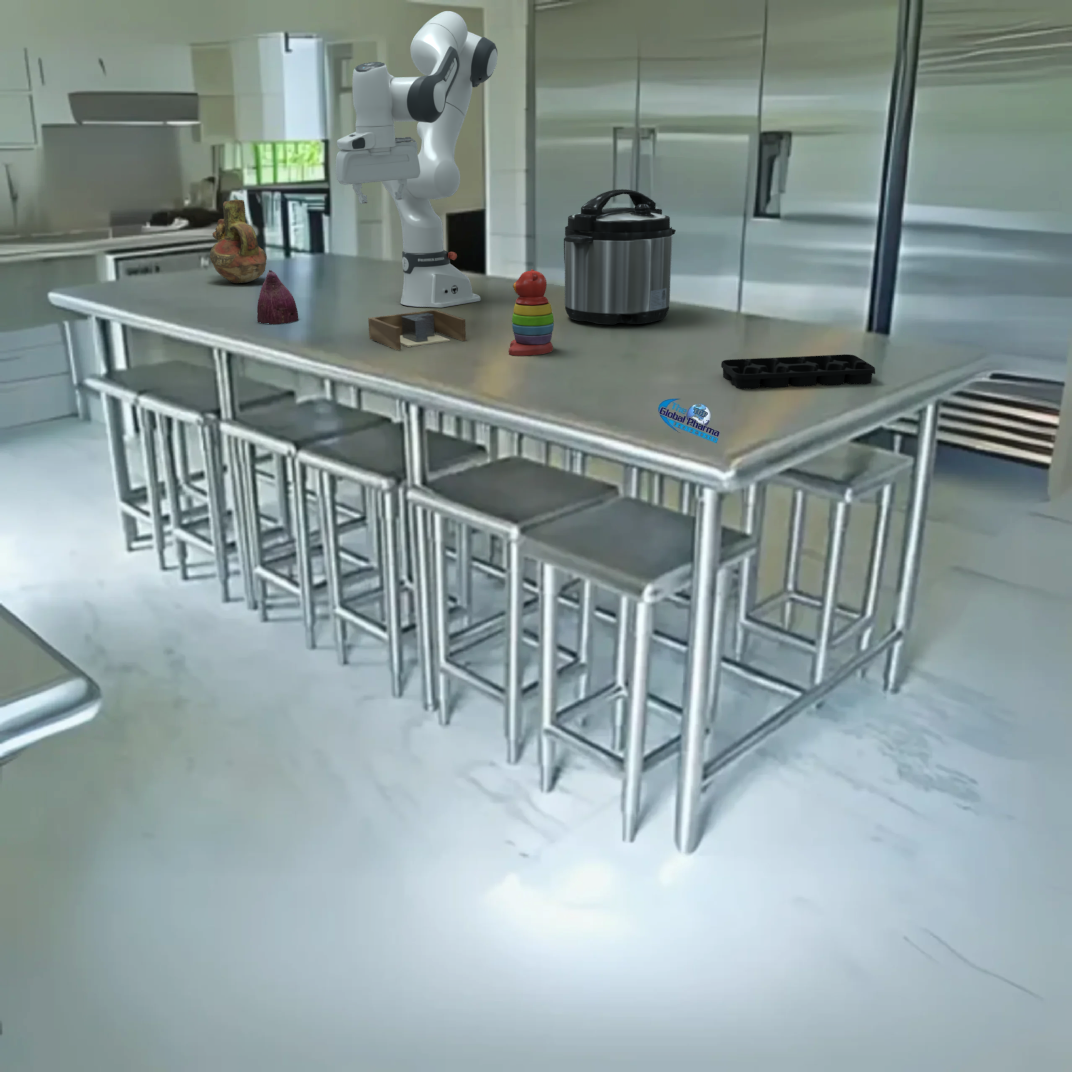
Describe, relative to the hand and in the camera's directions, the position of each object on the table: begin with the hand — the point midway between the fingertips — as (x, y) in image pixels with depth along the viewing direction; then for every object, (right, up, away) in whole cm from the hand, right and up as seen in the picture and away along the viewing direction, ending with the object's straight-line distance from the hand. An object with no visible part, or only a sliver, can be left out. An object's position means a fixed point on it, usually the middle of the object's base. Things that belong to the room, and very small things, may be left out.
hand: (381, 201), depth 253 cm
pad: (+9, -32, +1) cm, 34 cm away
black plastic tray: (+89, -48, -37) cm, 108 cm away
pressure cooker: (+57, -23, +24) cm, 66 cm away
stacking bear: (+35, -37, -10) cm, 52 cm away
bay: (+9, -32, +1) cm, 34 cm away
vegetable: (-31, -23, +26) cm, 46 cm away
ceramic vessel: (-57, +1, +85) cm, 102 cm away
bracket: (+10, -32, +2) cm, 33 cm away
